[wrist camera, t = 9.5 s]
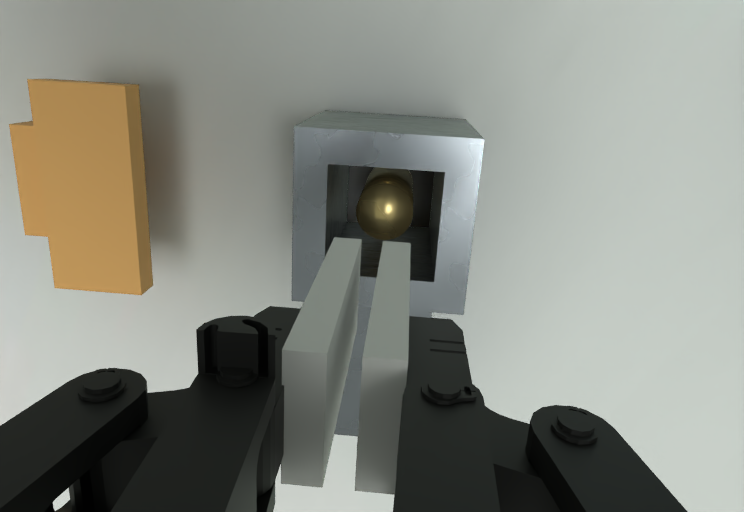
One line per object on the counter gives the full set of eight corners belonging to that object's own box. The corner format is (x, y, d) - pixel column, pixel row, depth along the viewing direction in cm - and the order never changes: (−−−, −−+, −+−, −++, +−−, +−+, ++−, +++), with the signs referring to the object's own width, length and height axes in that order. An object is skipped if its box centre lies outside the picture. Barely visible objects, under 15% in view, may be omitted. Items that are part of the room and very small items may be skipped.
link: (435, 400, 33) (441, 498, 26) (317, 390, 34) (289, 484, 26) (465, 119, 28) (484, 139, 21) (326, 110, 29) (294, 126, 21)
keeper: (72, 74, 29) (-19, 76, 23) (186, 81, 29) (124, 85, 23) (90, 242, 32) (14, 284, 26) (193, 250, 31) (141, 294, 25)
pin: (368, 159, 29) (357, 182, 23) (415, 163, 29) (415, 186, 23) (365, 205, 30) (354, 237, 24) (411, 208, 30) (410, 242, 24)
